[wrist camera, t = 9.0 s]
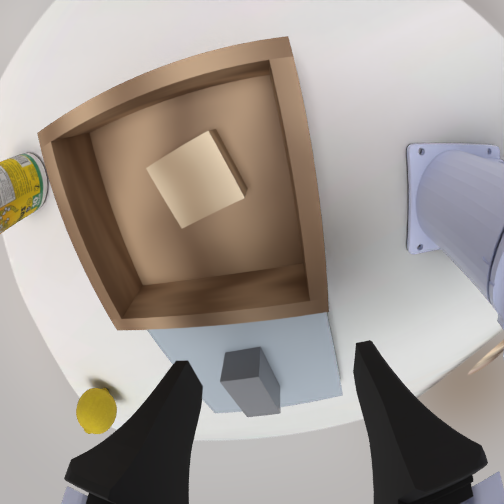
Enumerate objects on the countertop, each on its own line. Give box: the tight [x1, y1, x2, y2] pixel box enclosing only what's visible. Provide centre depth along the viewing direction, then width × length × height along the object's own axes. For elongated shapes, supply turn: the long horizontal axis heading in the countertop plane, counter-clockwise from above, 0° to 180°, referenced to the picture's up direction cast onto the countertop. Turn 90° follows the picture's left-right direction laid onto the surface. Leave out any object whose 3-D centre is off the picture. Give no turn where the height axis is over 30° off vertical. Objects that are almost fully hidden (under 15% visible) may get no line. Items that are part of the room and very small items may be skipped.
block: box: [146, 129, 248, 228], centre depth 15 cm, size 4×4×2 cm
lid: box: [147, 312, 343, 417], centre depth 22 cm, size 14×14×6 cm
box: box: [37, 36, 329, 330], centre depth 15 cm, size 14×14×5 cm
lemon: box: [76, 388, 117, 434], centre depth 27 cm, size 6×6×8 cm
